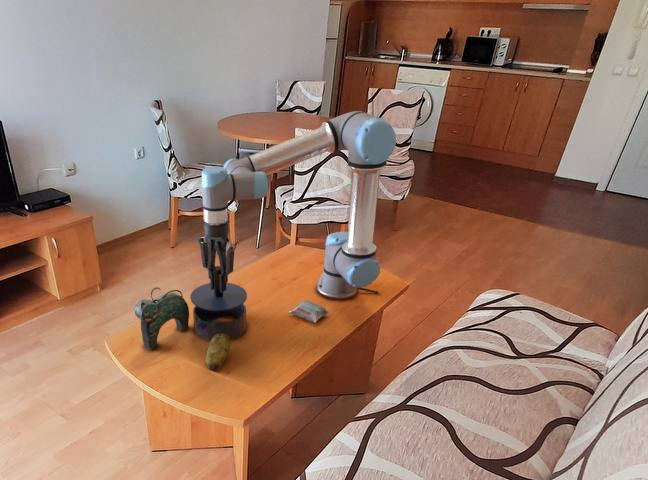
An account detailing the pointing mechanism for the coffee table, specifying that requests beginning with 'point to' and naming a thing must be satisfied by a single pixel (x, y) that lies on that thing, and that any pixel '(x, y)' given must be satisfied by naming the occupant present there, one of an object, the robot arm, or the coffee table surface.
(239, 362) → the coffee table surface
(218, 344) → the potato
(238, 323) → the pot
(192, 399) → the coffee table surface
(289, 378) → the coffee table surface
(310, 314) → the packaged food
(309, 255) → the coffee table surface
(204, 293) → the lid
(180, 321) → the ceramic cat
